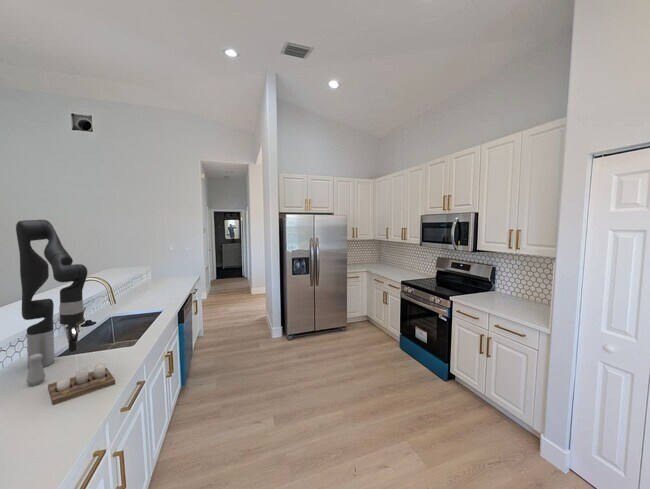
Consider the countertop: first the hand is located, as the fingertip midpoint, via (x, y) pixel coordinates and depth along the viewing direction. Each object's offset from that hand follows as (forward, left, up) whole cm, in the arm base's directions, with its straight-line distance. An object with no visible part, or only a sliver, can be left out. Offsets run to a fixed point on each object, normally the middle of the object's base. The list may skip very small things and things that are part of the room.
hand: (72, 350), depth 117 cm
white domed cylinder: (0, -3, -17) cm, 17 cm away
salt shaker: (-18, -10, -17) cm, 27 cm away
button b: (0, +3, -15) cm, 15 cm away
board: (0, +3, -17) cm, 17 cm away
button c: (0, +9, -15) cm, 17 cm away
